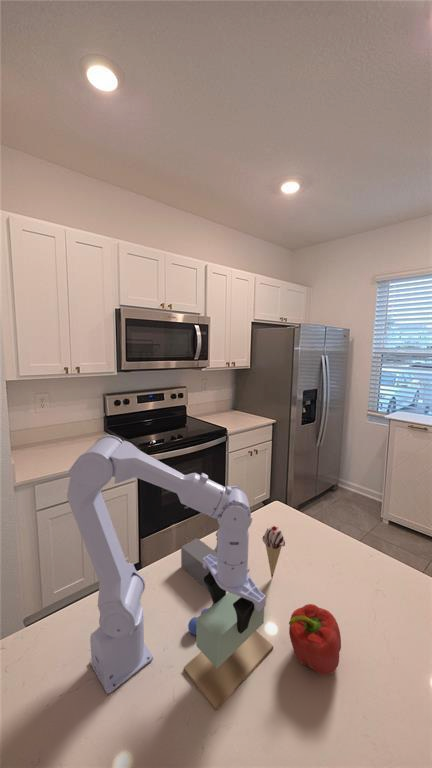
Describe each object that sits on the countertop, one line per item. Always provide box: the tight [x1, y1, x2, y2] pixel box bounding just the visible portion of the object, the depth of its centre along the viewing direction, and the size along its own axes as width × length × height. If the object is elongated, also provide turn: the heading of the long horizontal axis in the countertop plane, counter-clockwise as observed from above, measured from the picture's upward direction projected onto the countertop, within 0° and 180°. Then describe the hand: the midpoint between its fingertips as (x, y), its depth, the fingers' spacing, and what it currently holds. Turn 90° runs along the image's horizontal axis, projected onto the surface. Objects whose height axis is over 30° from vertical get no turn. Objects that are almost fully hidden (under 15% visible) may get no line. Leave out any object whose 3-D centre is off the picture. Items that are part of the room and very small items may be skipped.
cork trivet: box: [183, 630, 274, 711], centre depth 63 cm, size 16×9×1 cm, turn 133°
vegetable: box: [288, 603, 342, 675], centre depth 62 cm, size 11×10×10 cm
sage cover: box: [195, 592, 265, 668], centre depth 61 cm, size 13×6×6 cm, turn 133°
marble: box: [187, 616, 198, 636], centre depth 68 cm, size 3×3×3 cm
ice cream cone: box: [262, 525, 286, 579], centre depth 82 cm, size 6×6×15 cm
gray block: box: [180, 537, 217, 592], centre depth 84 cm, size 13×6×6 cm, turn 44°
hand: (230, 618), depth 61 cm, fingers closed on sage cover, 6 cm apart
